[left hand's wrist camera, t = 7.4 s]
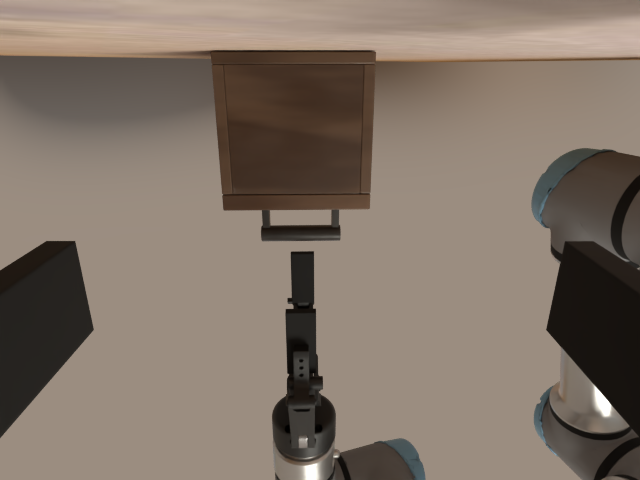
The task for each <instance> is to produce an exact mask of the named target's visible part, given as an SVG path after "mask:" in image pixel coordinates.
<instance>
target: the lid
mask: <svg viewBox="0 0 640 480" xmlns="http://www.w3.org/2000/svg"><path fill="white" fill-rule="evenodd" d="M222 197H223V209H224V210H262V219H263V226H262V227H261V238H262V241H334V240H340V225H339V209H369V208H370V193H346V194H223V196H222ZM270 210H332V213H331V215H332V216H331V225H279V226H270Z"/></svg>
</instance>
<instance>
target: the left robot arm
mask: <svg viewBox="0 0 640 480" xmlns="http://www.w3.org/2000/svg"><path fill="white" fill-rule="evenodd" d="M93 330H94V329H93V324H92V319H91V315H90V310H89V305H88V300H87V296H86V291H85V286H84V281H83V277H82V272H81V267H80V262H79V257H78V253H77V248H76V243H75V241H46V242H44V243H43V244H41V245H40V246H38V247H36V248H35V249H33V250H32V251H30V252H29V253H27V254H25V255H24V256H22V257H21V258H19V259H18V260H16V261H14V262H13V263H11V264H10V265H8V266H7V267H5V268H3V269H2V270H0V438H1V436H2V435H3V434H4V433H5V432H6V431H7V429H8V428H9V427H10V426H11V425H12V424H13V423H14V421H15V420H16V419H17V418H18V417H19V416H20V415H21V413H22V412H23V411H24V410H25V409H26V408H27V406H28V405H29V404H30V403H31V402H32V401H33V399H34V398H35V397H36V396H37V395H38V394H39V393H40V391H41V390H42V389H43V388H44V387H45V386H46V384H47V383H48V382H49V381H50V380H51V379H52V377H53V376H54V375H55V374H56V373H57V372H58V371H59V369H60V368H61V367H62V366H63V365H64V364H65V362H66V361H67V360H68V359H69V358H70V357H71V356H72V354H73V353H74V352H75V351H76V350H77V349H78V347H79V346H80V345H81V344H82V343H83V342H84V340H85V339H86V338H87V337H88V336H89V335H90V334H91V332H92V331H93ZM546 330H547V331H548V332H549V334H550V335H551V336H552V337H553V338H554V339H555V340H556V342H557V343H558V344H559V345H560V346H561V347H562V349H563V350H564V351H565V352H566V353H567V354H568V356H569V357H570V358H571V359H572V360H573V361H574V362H575V364H576V365H577V366H578V367H579V368H580V369H581V371H582V372H583V373H584V374H585V375H586V376H587V377H588V379H589V380H590V381H591V382H592V383H593V384H594V386H595V387H596V388H597V389H598V390H599V391H600V393H601V394H602V395H603V396H604V397H605V398H606V399H607V401H608V402H609V403H610V404H611V405H612V406H613V408H614V409H615V410H616V411H617V412H618V413H619V415H620V416H621V417H622V418H623V419H624V420H625V421H626V423H627V424H628V425H629V426H630V427H631V428H632V430H633V431H634V432H635V433H636V434H637V435H638V436H639V438H640V270H638V269H637V268H635V267H634V266H632V265H630V264H629V263H627V262H626V261H624V260H622V259H621V258H619V257H618V256H616V255H615V254H613V253H611V252H610V251H608V250H607V249H605V248H604V247H602V246H600V245H599V244H597V243H596V242H594V241H565V243H564V248H563V253H562V257H561V262H560V267H559V272H558V276H557V281H556V286H555V291H554V296H553V300H552V305H551V310H550V315H549V319H548V324H547V329H546Z"/></svg>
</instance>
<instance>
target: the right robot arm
mask: <svg viewBox="0 0 640 480" xmlns="http://www.w3.org/2000/svg"><path fill="white" fill-rule="evenodd" d="M532 212H533V215H534V217H535V219H536V220H537V221H539V222H540V224H541V225H542V226H543V227H545V228H550V230H551V254H552V256H553V258H554V259H555V260H556V261H557V262H558V263H560V262H561V257H562V253H563V248H564V243H565V241H594V242H596V243H597V244H599V245H600V246H602V247H604V248H605V249H607V250H608V251H610V252H611V253H613V254H615V255H616V256H618V257H619V258H621V259H622V260H624V261H626V262H627V263H629V264H630V265H632V266H634V267H635V268H637V269H638V270H640V157H639V156H634V155H629V154H623V153H618V152H616V151H614V150H607V149H603V150H597V149H589V148H582V149H576V150H573V151H570V152H568V153H566V154H564V155H562V156H561V157H559V158H558V159H556V160H555V161H554V162H553V163H552V164H551V165H550V166H549V167H548V169H547V171H546V172H545V173H544V174H542V176H541V177H540V179H539V181H538V182H537V184H536V187H535V189H534V192H533V196H532ZM291 280H292V298H288V304H293V305H294V309H286V343H287V373H288V374H289V376H288V378H287V394H286V396H285V397H284V398H282V399H281V400H280V401H279V402H278V403H277V404H276V406H275V408H274V410H273V414H272V424H273V454H274V469H275V478H276V480H425V472H424V468H423V464H422V462H421V461H420V459H419V455H418V452H417V451H416V449H415V448H414V446H413V445H412V444H411V443H410V442H409V441H407V440H405V439H401V438H399V439H394V440H388V441H384V442H383V441H378V442H375V443H374V444H370V445H366V446H363V447H359V448H356V449H352V450H348V451H345V452H341V453H340V451H339V450H337V449H335V427H336V413H335V409H334V406H333V405H332V403H331V402H330V401H329V400H328V399H327V398H326V397H324V396H322V395H321V394H320V393H319V391H320V389H323V377H322V376H319V375H318V356H317V354H316V309H313V304H314V252H313V251H308V252H291ZM313 373H314V376H313ZM540 400H541V403H540V404H537V405H536V408H535V412H534V425H535V429H536V431H537V433H538V435H539V436H540V438H541V439H542V440H543V441H544V442H545V443H546V446H547V447H548V448H549V449H550V450H551V451H552V452H553V453H554V454H555V455H557V456H558V457H560V458H561V459H562V460H563V461H564V462H565V463H566V464H567V465H568V466H569V467H570V468H571V469H572V470H573V471H574V472H575V473H576V474H577V475H578V476H579V477H580V478H581V479H582V480H640V438H639V436H638V435H637V434H636V433H635V432H634V431H633V430H632V428H631V427H630V426H629V425H628V424H627V423H626V421H625V420H624V419H623V418H622V417H621V416H620V415H619V413H618V412H617V411H616V410H615V409H614V408H613V406H612V405H611V404H610V403H609V402H608V401H607V399H606V398H605V397H604V396H603V395H602V394H601V393H600V391H599V390H598V389H597V388H596V387H595V386H594V384H593V383H592V382H591V381H590V380H589V379H588V377H587V376H586V375H585V374H584V373H583V372H582V371H581V369H580V368H579V367H578V366H577V365H576V364H575V362H574V361H573V360H572V359H571V358H570V357H569V356H568V354H567V353H566V352H565V351H564V350H563V349H562V347H561V370H560V381H559V382H558V383H556V384H555V385H554V386H552V387H550V388H549V389H548V390H547V391H546V392H545V393H544V394H543V395H542V396H541V398H540Z"/></svg>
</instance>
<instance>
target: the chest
mask: <svg viewBox="0 0 640 480" xmlns="http://www.w3.org/2000/svg"><path fill="white" fill-rule="evenodd" d="M211 62H212V74H213V86H214V99H215V111H216V123H217V136H218V148H219V160H220V172H221V185H222V194H346V193H370V187H371V163H372V138H373V114H374V89H375V62H376V52H375V51H212V52H211Z"/></svg>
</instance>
